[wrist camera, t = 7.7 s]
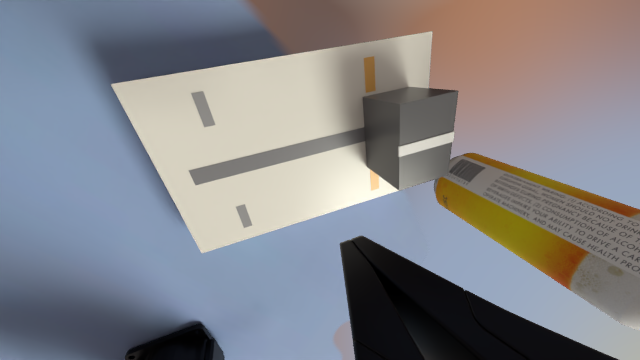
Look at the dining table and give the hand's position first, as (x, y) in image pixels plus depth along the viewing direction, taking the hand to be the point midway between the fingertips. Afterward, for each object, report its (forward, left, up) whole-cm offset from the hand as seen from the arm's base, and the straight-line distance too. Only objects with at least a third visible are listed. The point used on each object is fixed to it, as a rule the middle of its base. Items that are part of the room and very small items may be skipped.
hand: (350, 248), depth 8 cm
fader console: (+1, +1, -11) cm, 11 cm away
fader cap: (+7, +1, -8) cm, 11 cm away
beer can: (+16, -7, -11) cm, 21 cm away
